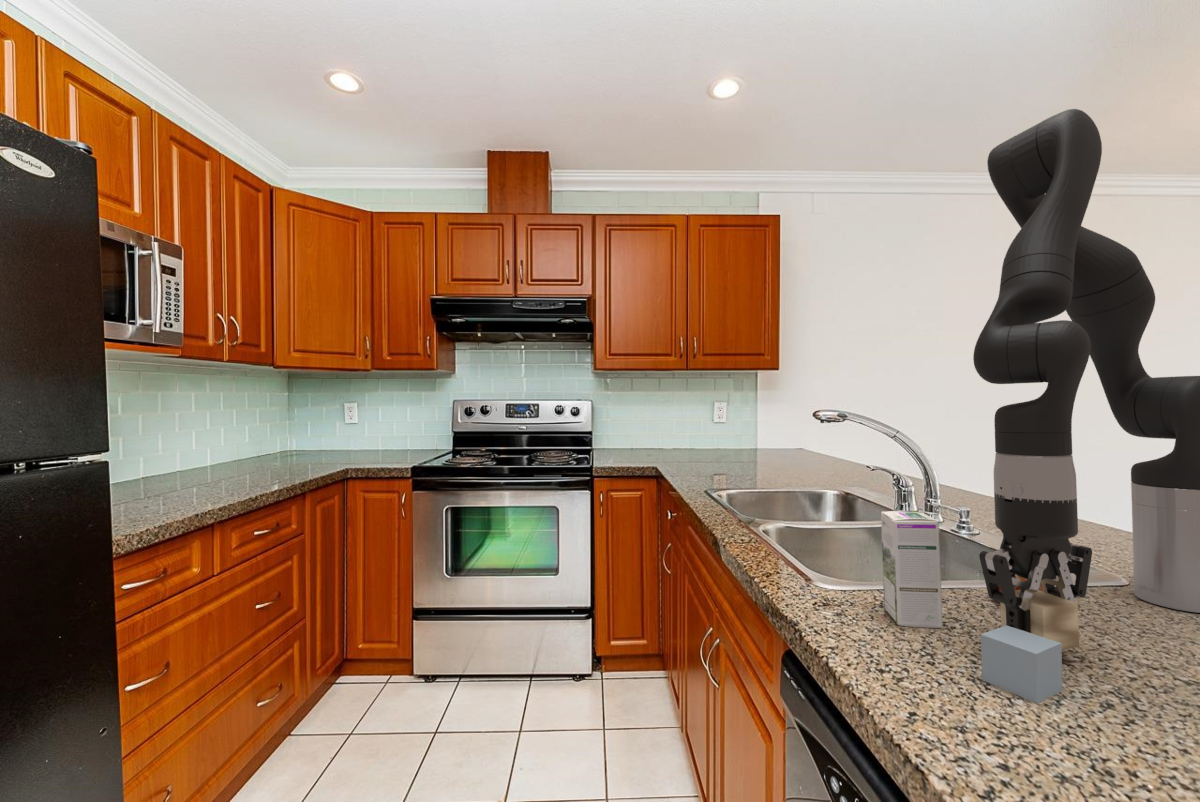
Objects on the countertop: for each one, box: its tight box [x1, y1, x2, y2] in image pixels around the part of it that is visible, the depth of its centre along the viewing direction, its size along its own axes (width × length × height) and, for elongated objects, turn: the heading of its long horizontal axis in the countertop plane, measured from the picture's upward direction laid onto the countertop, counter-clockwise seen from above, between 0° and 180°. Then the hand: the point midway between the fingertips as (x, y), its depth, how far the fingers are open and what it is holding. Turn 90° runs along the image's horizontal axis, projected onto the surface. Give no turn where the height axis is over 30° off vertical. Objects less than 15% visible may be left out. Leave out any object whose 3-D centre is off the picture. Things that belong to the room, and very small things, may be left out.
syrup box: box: [880, 510, 943, 629], centre depth 72 cm, size 6×6×14 cm
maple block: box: [999, 590, 1080, 651], centre depth 61 cm, size 5×5×5 cm
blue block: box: [980, 625, 1063, 704], centre depth 55 cm, size 5×5×5 cm
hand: (1038, 635), depth 61 cm, fingers closed on maple block, 5 cm apart
